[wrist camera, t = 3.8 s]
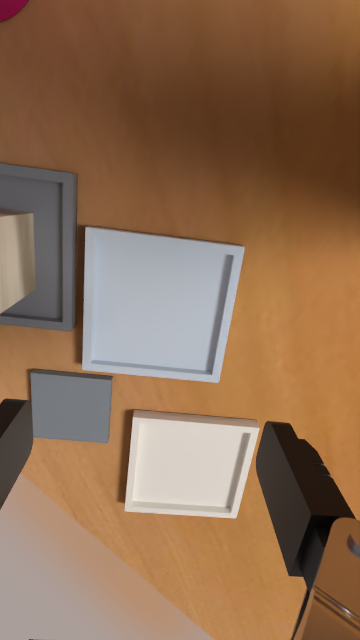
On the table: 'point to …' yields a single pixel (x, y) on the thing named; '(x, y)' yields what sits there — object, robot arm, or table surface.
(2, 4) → the pepper mill
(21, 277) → the beige cube
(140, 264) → the tray bluegrey
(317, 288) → the table surface
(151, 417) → the tray cream
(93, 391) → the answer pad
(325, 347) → the table surface
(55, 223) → the tray charcoal
